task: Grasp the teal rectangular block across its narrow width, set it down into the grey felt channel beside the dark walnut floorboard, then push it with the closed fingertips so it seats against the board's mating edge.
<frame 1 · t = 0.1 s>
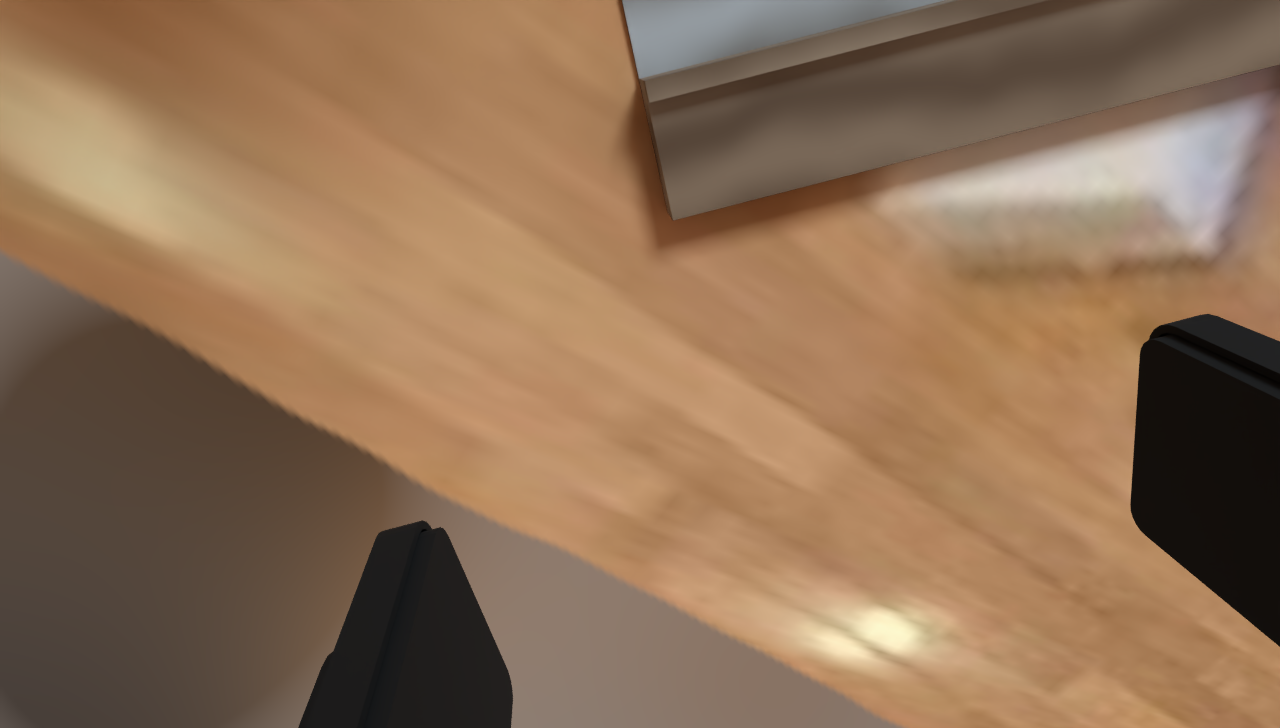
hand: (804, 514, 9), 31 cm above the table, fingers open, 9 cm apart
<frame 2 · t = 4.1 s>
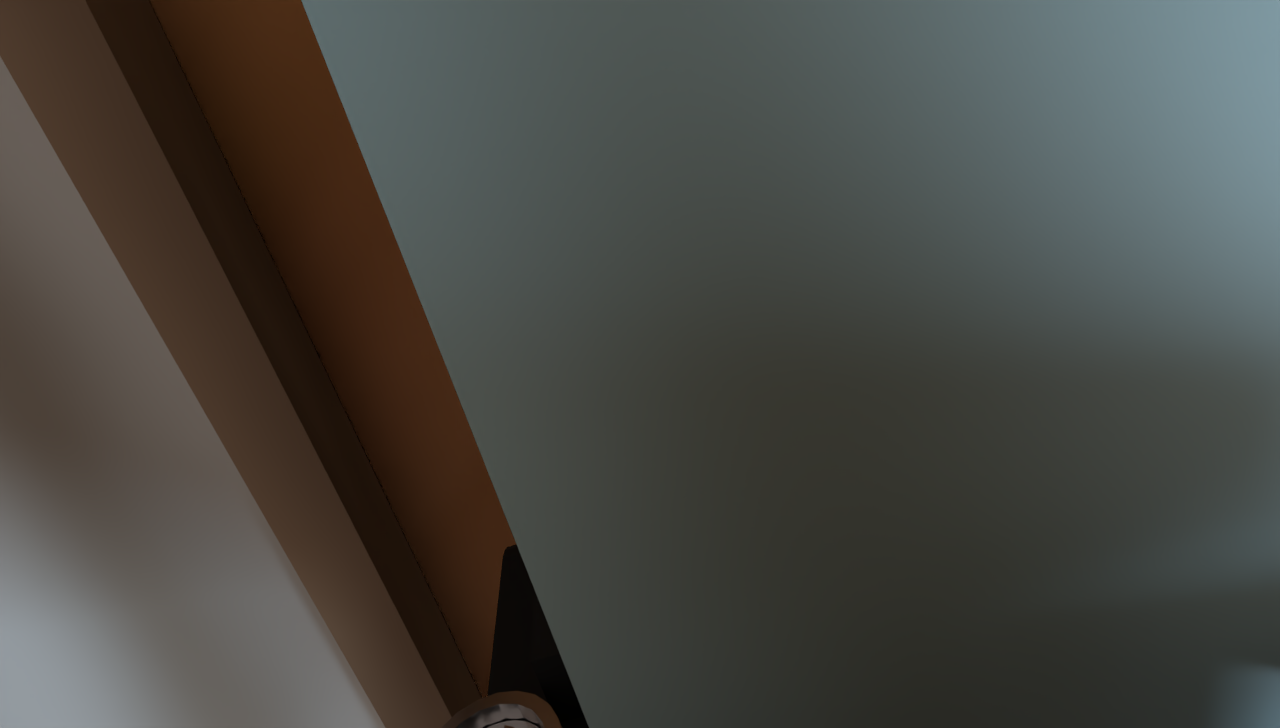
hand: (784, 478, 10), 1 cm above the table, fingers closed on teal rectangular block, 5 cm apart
teal rectangular block: (769, 444, 11), on the table, touching gripper
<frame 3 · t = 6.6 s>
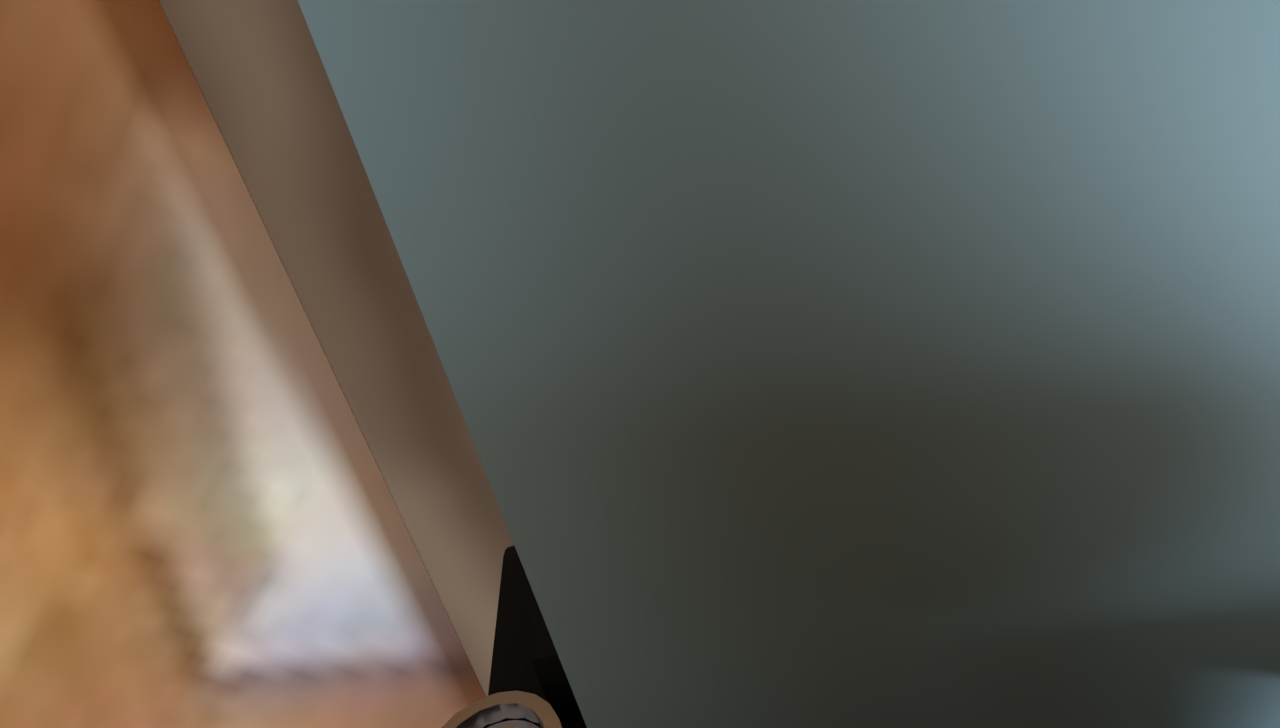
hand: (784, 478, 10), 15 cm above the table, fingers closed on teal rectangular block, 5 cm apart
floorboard: (654, 235, 24), on the table
teal rectangular block: (769, 447, 11), point 14 cm above the table, touching gripper
when the fingers open (2 cm above the table, at t = 9.2 s): teal rectangular block drops 1 cm, resting on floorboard.
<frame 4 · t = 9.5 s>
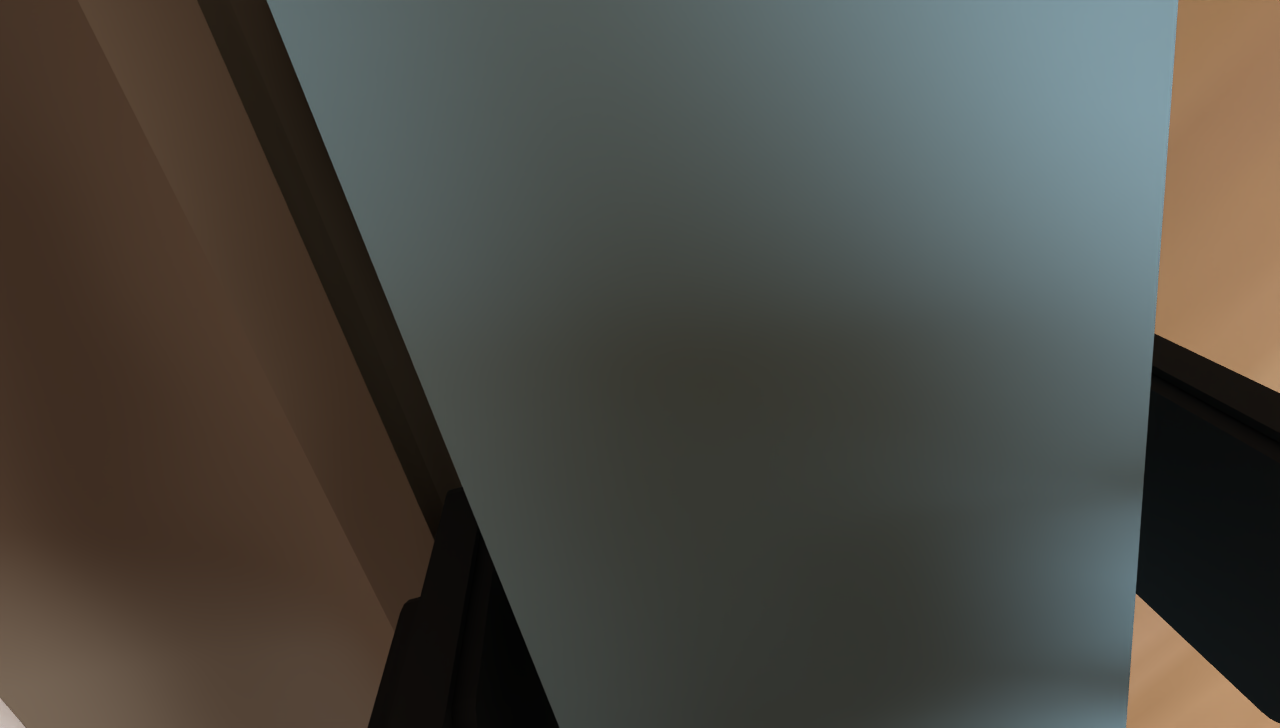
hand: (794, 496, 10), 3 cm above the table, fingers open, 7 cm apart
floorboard: (706, 427, 12), on the table
teal rectangular block: (718, 425, 12), resting on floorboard
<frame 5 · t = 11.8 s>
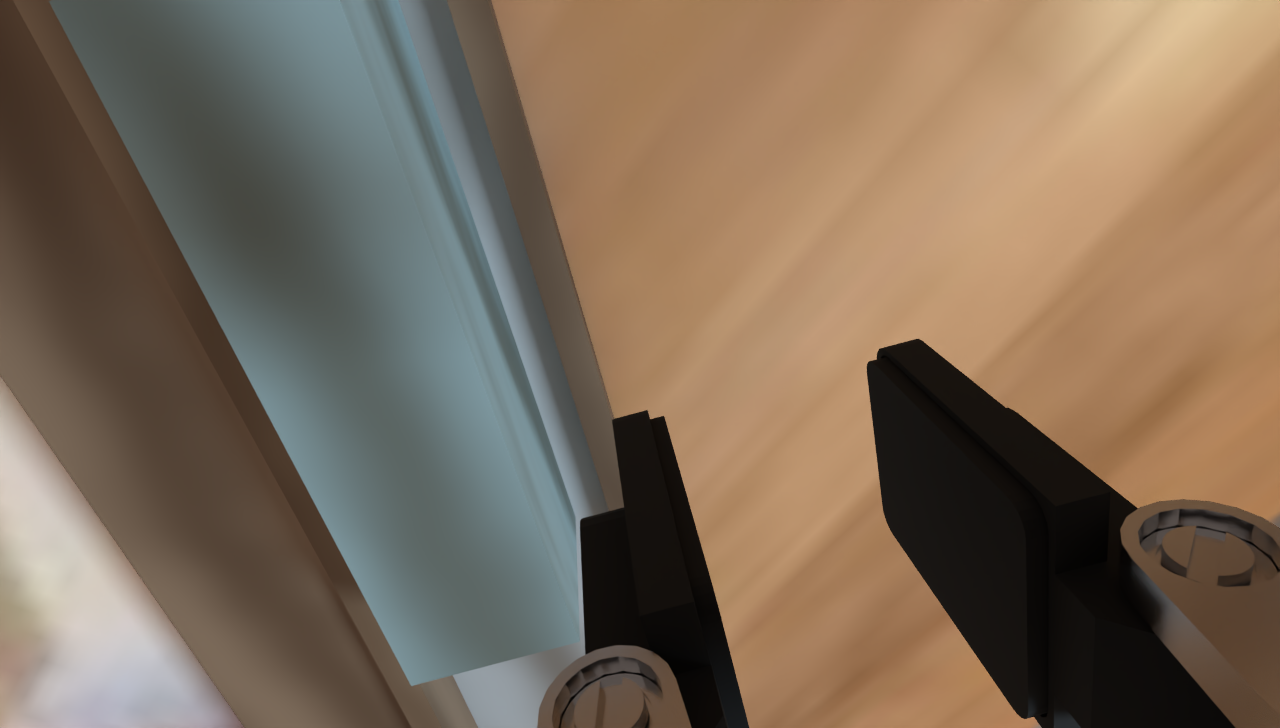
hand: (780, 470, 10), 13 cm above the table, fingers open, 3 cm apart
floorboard: (417, 310, 23), on the table
teal rectangular block: (419, 308, 22), resting on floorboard
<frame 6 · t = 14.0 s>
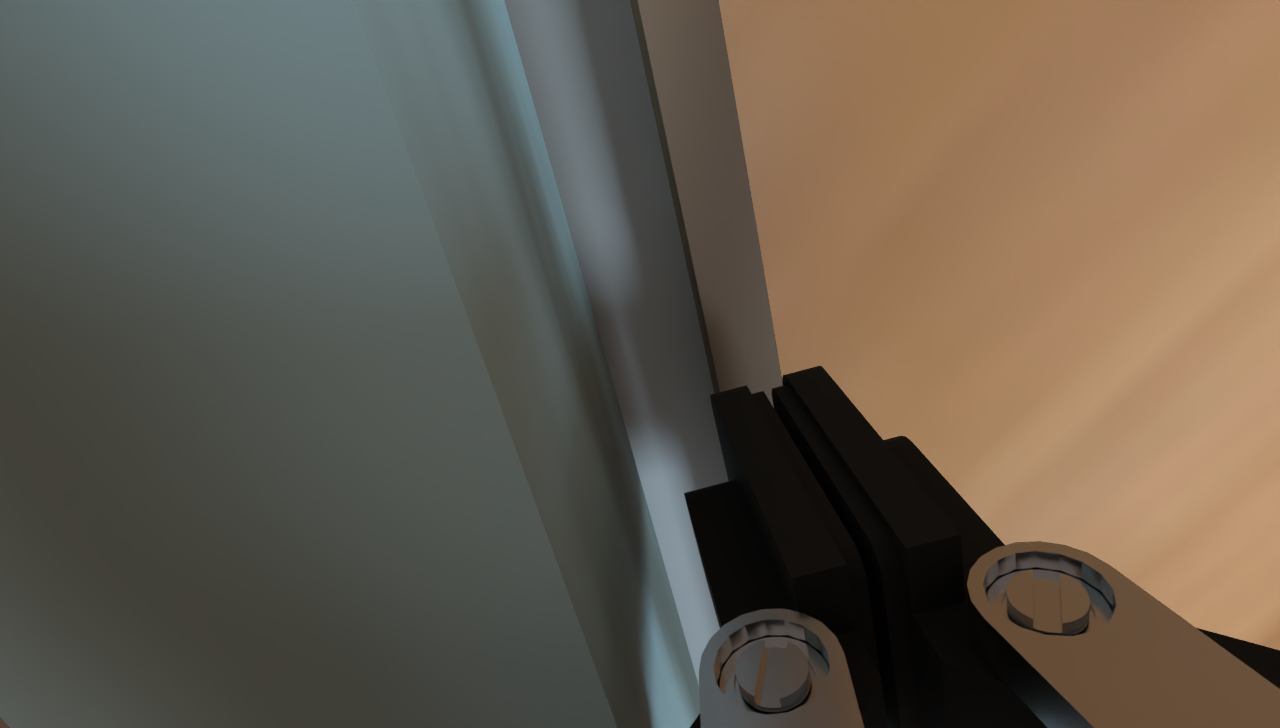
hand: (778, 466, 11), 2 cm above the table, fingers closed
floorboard: (495, 457, 13), on the table
teal rectangular block: (484, 465, 12), resting on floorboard, touching gripper
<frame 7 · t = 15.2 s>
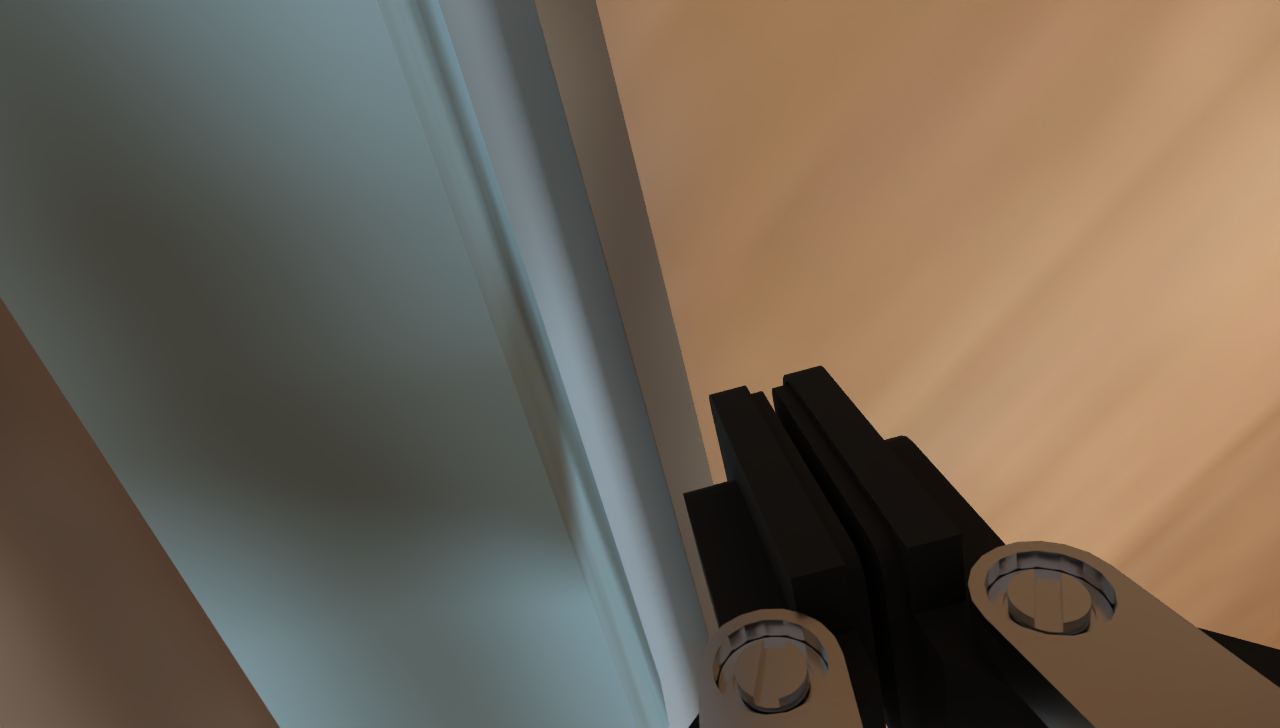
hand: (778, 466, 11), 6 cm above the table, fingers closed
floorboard: (463, 420, 16), on the table
teal rectangular block: (455, 421, 16), resting on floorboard
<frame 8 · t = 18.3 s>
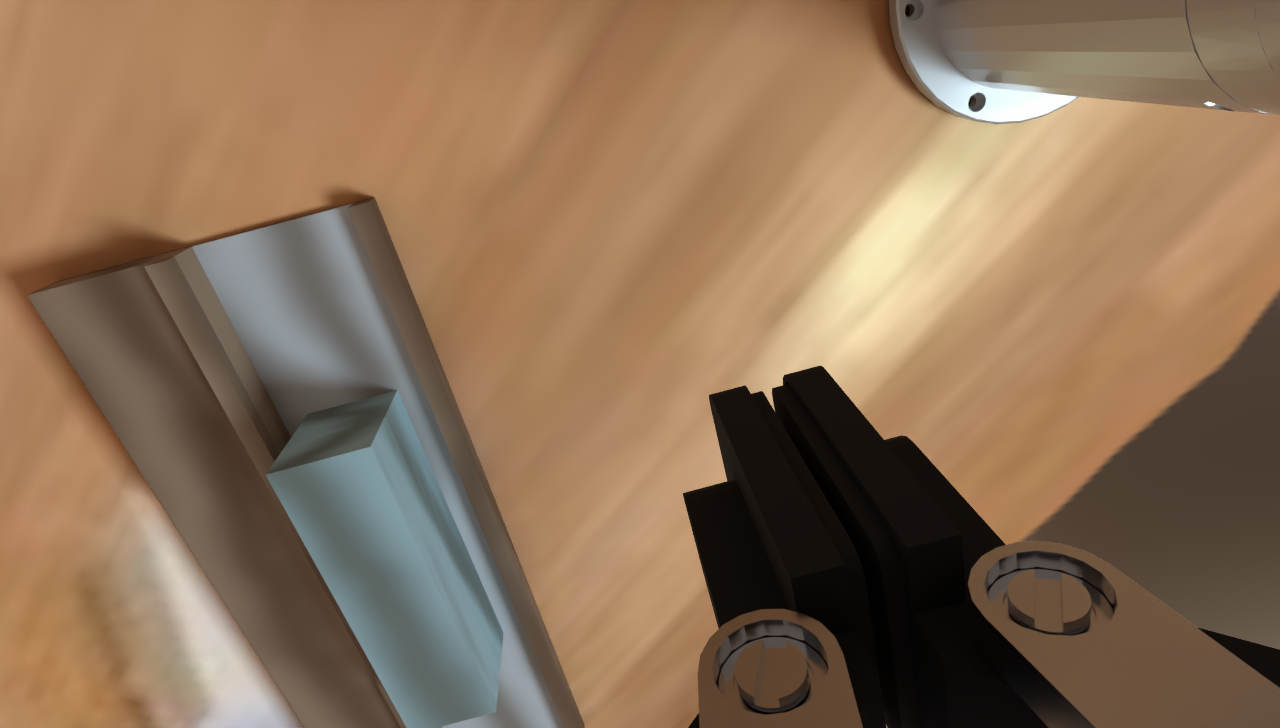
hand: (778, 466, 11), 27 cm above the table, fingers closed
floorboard: (417, 531, 42), on the table
teal rectangular block: (414, 533, 42), resting on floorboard
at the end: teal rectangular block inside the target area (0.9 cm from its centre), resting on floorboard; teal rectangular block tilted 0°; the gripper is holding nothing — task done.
